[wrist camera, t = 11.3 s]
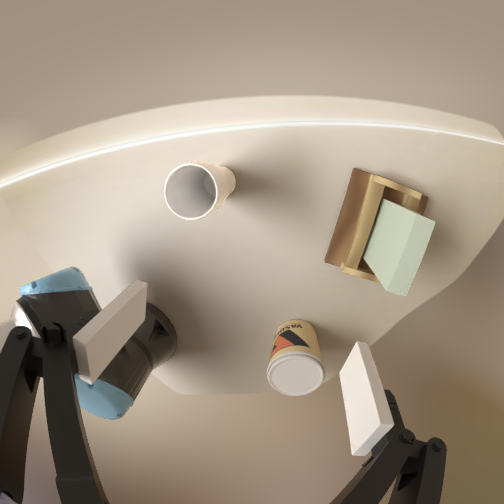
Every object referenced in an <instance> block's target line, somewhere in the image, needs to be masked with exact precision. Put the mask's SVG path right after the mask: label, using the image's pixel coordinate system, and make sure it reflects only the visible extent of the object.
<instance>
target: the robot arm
mask: <svg viewBox="0 0 504 504" xmlns="http://www.w3.org/2000/svg"><path fill="white" fill-rule="evenodd" d="M147 287H148V283H146V282H143V281H140V280H138V279H137V280H136V281H134V282H133V283H132V284H131V285H130V286H129V287H128V288H126V289H125V290H124V291H123V292H122V293H121V294H120V295H118V296H117V297H116V298H115V299H114V300H113V301H112V302H110V303H109V304H108V305H107V306H106V307H105V308H104V309H103V310H102V309H101V307H100V305H99V303H98V301H97V299H96V297H95V295H94V293H93V291H92V287H91V286H90V285H89V284H88V282H87V280H86V278H85V276H84V274H83V273H82V271H81V270H80V269H79V268H76V267H70V268H67V269H64V270H61V271H59V272H56V273H53V274H51V275H49V276H46V277H44V278H41V279H38V280H37V281H34V282H31V283H29V284H26V285H24V286H21V287H20V295H21V296H22V297H21V298H20V299H18V300H17V301H15V302H14V303H13V308H12V313H11V316H10V317H9V318H7V319H6V320H4V321H3V322H1V323H0V504H22V499H23V492H24V476H25V463H26V453H27V444H28V437H29V430H30V424H31V418H32V413H33V407H34V403H35V397H36V393H37V389H38V384H39V380H40V377H43V379H44V380H43V381H44V396H45V407H46V416H47V424H48V431H49V438H50V444H51V449H52V454H53V459H54V463H55V468H56V473H57V477H56V485H57V489H58V493H59V496H60V499H61V503H62V504H110V503H109V501H108V499H107V497H106V495H105V492H104V490H103V487H102V485H101V482H100V479H99V476H98V473H97V470H96V467H95V464H94V461H93V457H92V454H91V450H90V447H89V443H88V440H87V436H86V432H85V428H84V424H83V420H82V415H81V410H80V407H82V408H83V409H85V410H86V411H88V412H90V413H92V414H94V415H96V416H98V417H101V418H104V419H111V420H114V419H119V418H121V417H123V416H124V415H125V413H126V412H127V411H128V409H129V408H130V407H131V406H132V405H133V402H134V400H135V399H136V397H137V395H138V394H139V392H140V390H141V388H142V387H143V385H144V383H145V381H146V380H147V378H148V376H149V375H150V373H151V372H152V370H153V369H155V368H157V367H158V366H160V365H161V364H162V363H164V362H165V361H167V360H168V359H169V358H170V357H171V355H172V353H173V352H174V350H175V348H176V344H177V337H176V333H175V330H174V327H173V325H172V324H171V322H170V321H169V319H168V318H167V317H166V316H165V315H164V314H163V313H162V312H161V311H160V310H158V309H157V308H156V307H154V306H152V305H150V304H148V303H146V298H147ZM339 374H340V380H341V386H342V392H343V397H344V404H345V410H346V416H347V422H348V430H349V436H350V443H351V451H352V455H356V456H365V455H366V454H367V453H368V452H369V451H370V450H371V451H372V456H371V457H370V458H369V459H368V460H367V461H366V462H365V463H364V464H363V465H362V466H363V467H362V468H361V469H360V471H359V472H358V473H357V474H356V475H355V476H354V478H353V479H352V480H351V481H350V482H349V483H348V485H347V486H346V487H345V488H344V489H343V490H342V491H341V492H340V493H339V495H338V496H337V497H336V498H335V499H334V500H333V501H332V502H331V503H330V504H378V503H379V502H380V501H381V499H382V498H383V496H384V495H385V493H386V492H387V491H388V489H389V487H390V486H391V484H392V483H393V481H394V480H395V478H396V477H397V478H396V482H395V485H394V488H393V491H392V494H391V497H390V500H389V503H388V504H439V503H440V497H441V492H442V485H443V479H444V470H445V462H446V451H447V449H446V445H445V443H444V442H443V441H442V440H441V439H439V438H436V437H434V438H431V439H430V440H429V441H428V442H427V443H426V442H423V441H419V440H416V439H415V436H414V434H413V433H412V432H411V431H410V430H408V429H405V427H404V424H403V421H402V418H401V415H400V412H399V410H398V406H397V405H396V404H397V403H396V400H395V397H394V396H393V394H392V393H391V392H390V390H384V389H383V386H382V383H381V381H380V377H379V374H378V371H377V368H376V366H375V363H374V360H373V357H372V354H371V352H370V349H369V346H368V343H364V342H360V341H357V342H356V343H355V345H354V347H353V349H352V351H351V353H350V355H349V357H348V358H347V360H346V362H345V364H344V366H343V367H342V369H341V371H340V373H339Z"/></svg>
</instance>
